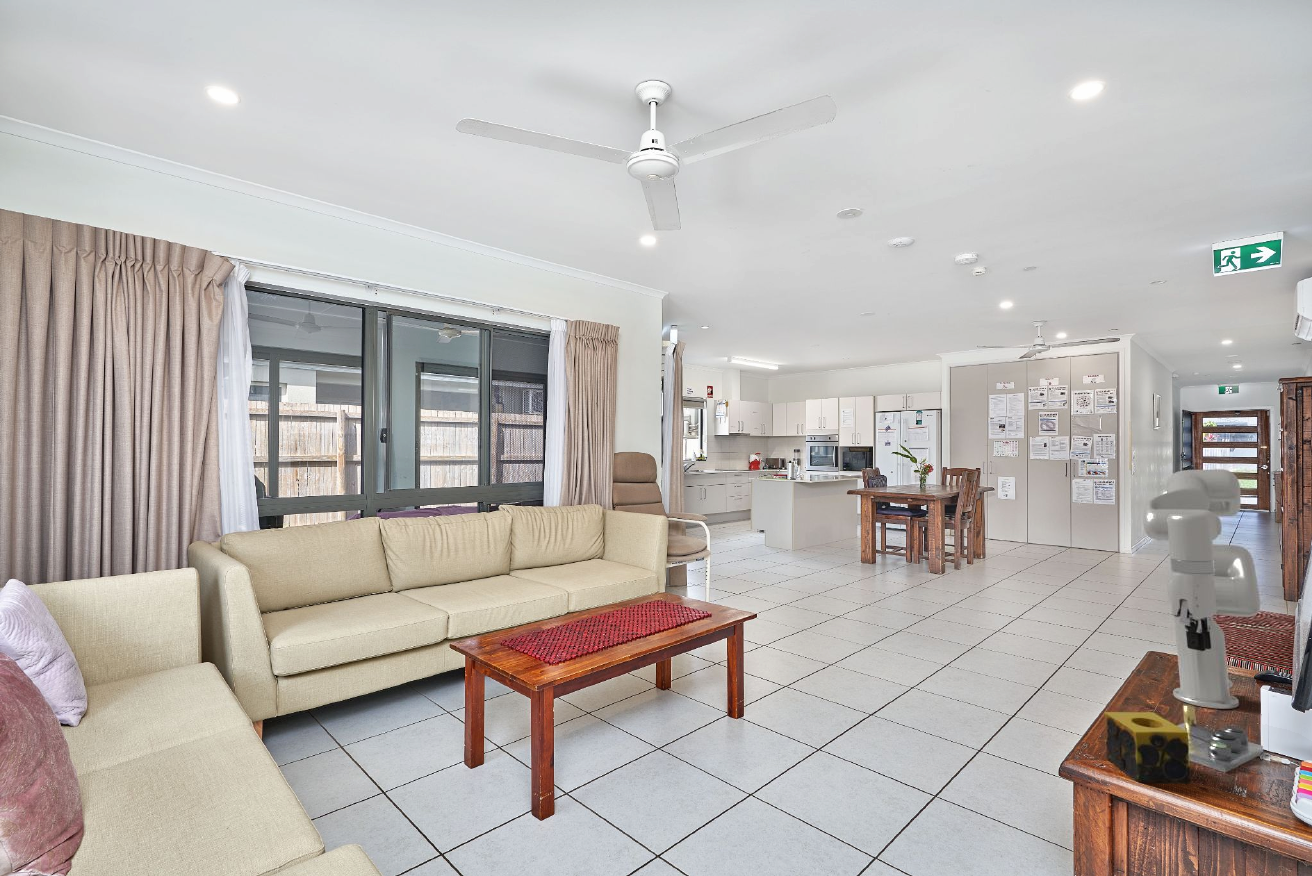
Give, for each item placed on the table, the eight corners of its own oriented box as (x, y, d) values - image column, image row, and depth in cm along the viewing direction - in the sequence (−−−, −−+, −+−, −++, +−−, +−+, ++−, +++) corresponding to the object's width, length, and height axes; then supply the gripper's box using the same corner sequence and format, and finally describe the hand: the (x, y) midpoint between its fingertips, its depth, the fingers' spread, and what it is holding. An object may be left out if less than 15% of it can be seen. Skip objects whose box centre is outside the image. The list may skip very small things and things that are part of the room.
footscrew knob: (1247, 750, 130) (1245, 721, 130) (1228, 753, 129) (1225, 724, 129) (1195, 729, 140) (1193, 703, 141) (1177, 732, 139) (1174, 706, 140)
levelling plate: (1185, 729, 145) (1183, 711, 145) (1264, 752, 132) (1262, 732, 132) (1145, 746, 137) (1143, 727, 138) (1225, 772, 125) (1223, 751, 125)
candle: (1105, 759, 132) (1101, 711, 133) (1157, 759, 131) (1152, 711, 132) (1137, 784, 122) (1133, 731, 123) (1193, 784, 121) (1188, 731, 122)
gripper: (1190, 561, 150) (1197, 639, 149) (1154, 569, 143) (1161, 650, 143) (1229, 565, 144) (1237, 646, 143) (1194, 573, 137) (1201, 659, 136)
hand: (1199, 648), depth 143 cm, fingers closed
